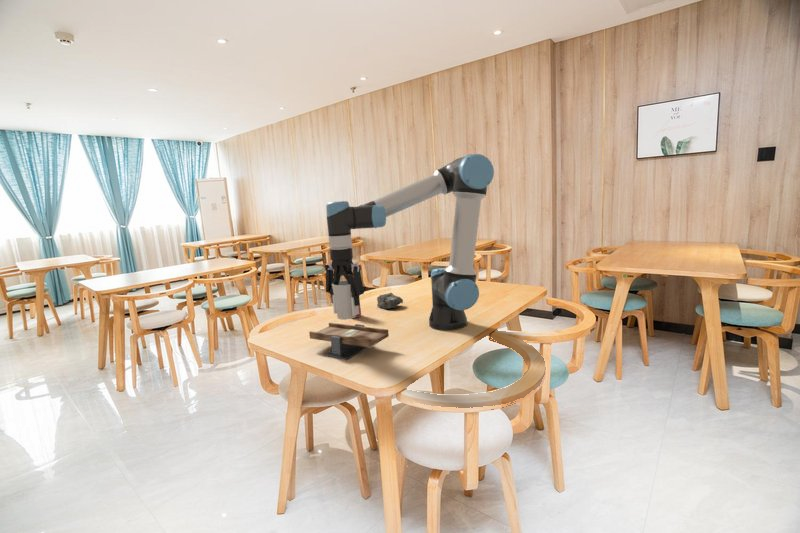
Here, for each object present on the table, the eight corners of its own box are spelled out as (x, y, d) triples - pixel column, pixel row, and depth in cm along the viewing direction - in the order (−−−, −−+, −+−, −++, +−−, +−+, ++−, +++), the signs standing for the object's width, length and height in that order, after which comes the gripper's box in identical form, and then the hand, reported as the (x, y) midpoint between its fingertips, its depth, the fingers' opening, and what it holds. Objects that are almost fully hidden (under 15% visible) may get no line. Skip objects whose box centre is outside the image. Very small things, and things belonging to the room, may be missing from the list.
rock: (405, 305, 193) (404, 292, 192) (398, 311, 185) (397, 297, 184) (380, 304, 199) (379, 291, 197) (372, 309, 191) (371, 296, 190)
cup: (353, 320, 135) (351, 285, 133) (331, 320, 136) (328, 285, 134) (360, 313, 142) (358, 280, 140) (339, 313, 144) (336, 280, 142)
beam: (388, 336, 139) (388, 329, 138) (370, 347, 129) (369, 340, 129) (330, 328, 152) (330, 322, 152) (309, 338, 143) (309, 331, 142)
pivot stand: (374, 343, 146) (373, 325, 144) (346, 360, 132) (345, 340, 131) (352, 339, 151) (350, 322, 150) (323, 355, 137) (321, 336, 136)
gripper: (372, 246, 133) (376, 313, 137) (325, 246, 144) (330, 308, 148) (358, 249, 127) (363, 319, 131) (310, 248, 137) (316, 313, 141)
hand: (346, 313), depth 139 cm, fingers closed on cup, 7 cm apart
